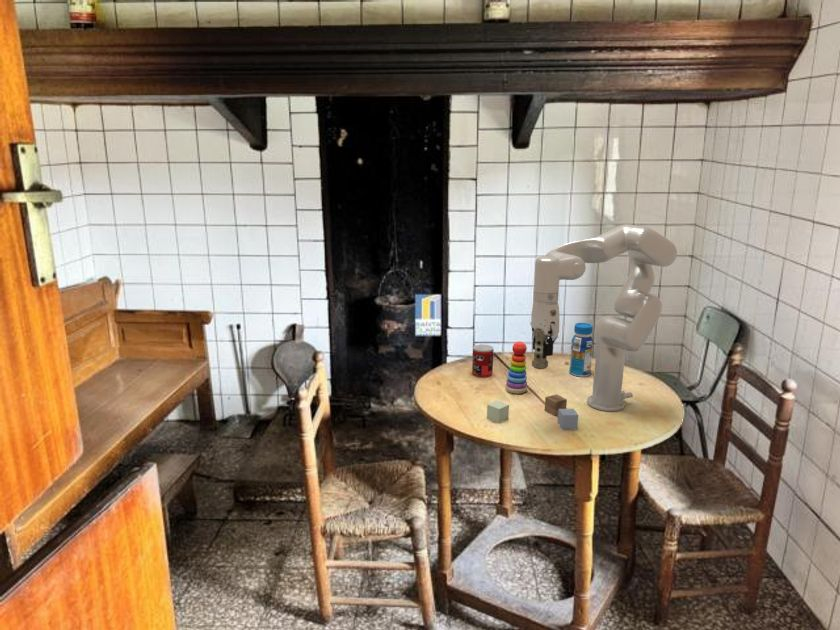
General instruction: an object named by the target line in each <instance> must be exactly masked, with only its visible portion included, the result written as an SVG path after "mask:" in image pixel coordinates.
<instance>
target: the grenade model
mask: <svg viewBox="0 0 840 630" xmlns="http://www.w3.org/2000/svg"><path fill="white" fill-rule="evenodd" d="M540 325H541V324H540ZM532 334H534V336H535V350H533V351H534V352H533V353H534V357H533V359H532V361H531V366H532V367H533V368H534V369H536V370H545V369H547V368H548V367H549V361H548V360H547V357H548V356H543V344H545V340H544V338H545V335H544V334H543V332H542V331H540V329H537V328H536V329H534V331H532ZM548 334H550V336H552V334H551V331H549V332H548ZM550 336H547V337H548V339H549V338H550Z"/></svg>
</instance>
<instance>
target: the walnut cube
mask: <svg viewBox="0 0 840 630" xmlns="http://www.w3.org/2000/svg"><path fill="white" fill-rule="evenodd" d="M567 401H568V399H567V398H565V397H563V396H561V395H559V394H552V395H549V396H545V400H544V411H545V412H547V413H548V414H550V415H552V416H558V410H559V409H567V403H568V402H567Z"/></svg>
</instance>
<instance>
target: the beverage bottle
mask: <svg viewBox="0 0 840 630" xmlns="http://www.w3.org/2000/svg"><path fill="white" fill-rule="evenodd" d="M573 329H574V331H573V332H574V334H573V336H572V339H571V345H570V360H569V361H570V362H569V363H570V364H569V371H568V372H569V373H570V375H572V376H575V377H579V378H580V377H581V378H582V377H583V378H585V377H588V376H591V373H592V370H591V368H592V360H593V359H592V357H593V351H594V347H593V345H594V339H593V337H592V334H593V329H594V328H593V324H591V323H588V322H577V323H575V324H574V328H573Z"/></svg>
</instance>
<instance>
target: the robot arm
mask: <svg viewBox="0 0 840 630" xmlns="http://www.w3.org/2000/svg"><path fill="white" fill-rule="evenodd" d="M625 253H627V254H628V255H627V256H628V258H629V265H630V270H629V273H628V276H627V278H626V280H625V282H624V284H623V285H622V287H621V289H620V291H619V292H618V294H617V296H616V298H615V300H614V303H613V308H614V311H615V312H616V313H617V314H619V315H620V316H623V317H626V318H629V319H632V321H630V320H628V319H625V318H621V317H620V316H619V317H618V316H615V315H604V316H602V317H600V318H599V319H598V320H597V322H596V324H595V327H594V337H595V344H596V345H595V360H594V361H595V362H594V371H593V375H594V376H593V384H592V394H591V395H590V396H588V397H587V399H586V400H587V401H586V403H587V405H588V406H589V407H591V408H593V409H594V410H598V411H604V412H618V411H622V410H623V409H624V408H625V406H626V403H625V401H624V400H626V399H629V398H630V399H631V398H633V397H634V395H633V392H631V391H629V392H626V391H625V390H622V389H623V380H624V368H625V361H626V359H625V358H626V355H625V351H627V352H631V353H634V352H638V351H639V350H641V349H642V348H643V346H644V345H645V344H646V343H647V341H648V339H649V337H650V335H651V333H652V332H653V330H654V328H655V327H656V324H657V323H658V322H659V320H660V317H661V314H662V309H663V305H662V301H661V299H660V298H659V297H658V296H656V295H654V294H652V293H650V292H651V290H652V288H653V285H654V284H655V272H654V269H653V266H656V267H662V268H667V267H669V266H671V265H673V263H674V262H675V261H676V259H677V256H678V250H677V247H676V245H675V244H674V243H673V241H671V240H670V239H668V238H667V237H665V236H663V235H662V234H661V233H659V232H657V231H656V230H655V229H652V228H650V227H647V226H643V225H635V224H630V223H629V224H621V225H617V226H616V227H614V228H612V229H610V230H608V231H606V232H604V233H602V234H600V235H597V236H594V237H591V238H585V239H581V240H576V241H572V242H568V243H565V244H562V245H559V246H558V247H555V248H553V249H551V250H550V251H548V252H547V253H546V254H545V255H542V256H538V257H537V258H536V259H535V261H534V262H535V263H534V277H533V278H534V280H533V299H532V300H533V303H532V307H531V308H532V310H531V316H530V317H531V318H530V319H531V321H530V326H531V331H532V332H533V331H534V329H536V328H537V329H540V331H542V332H543V334H544V335H545V338H544V340H545V344H543V356H547V357H552V356H553V355H554V344H555V342H556V340H557V339H558V338H559V332H560V308H559V307H560V306H559V305H560V304H559V294H560V293H559V292H560V291H559V290H560V281H561V280H563V281H564V280H566V281H575V280H577V279H580V278H581V277H582V276H583V275H584V274H585V272H586V268H587V266H586V264H599V263H606V262H608V261H610V260H613V259H614V258H616V257H618V256H620V255H622V254H625ZM540 324H541V325H540ZM549 331H551V334H552V336H550V334H548V332H549ZM531 336H532V350H533V351H535V336H534V334H533V333H532V335H531ZM547 336H550V338H549V337H547Z"/></svg>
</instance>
